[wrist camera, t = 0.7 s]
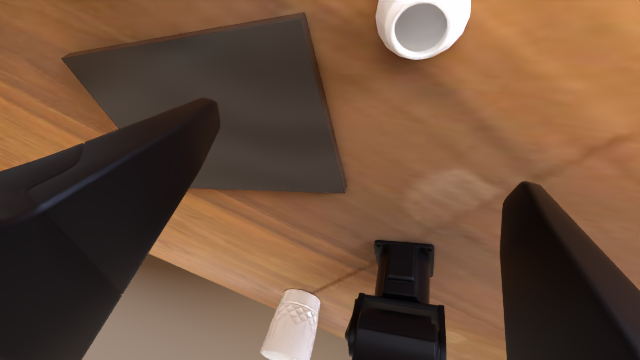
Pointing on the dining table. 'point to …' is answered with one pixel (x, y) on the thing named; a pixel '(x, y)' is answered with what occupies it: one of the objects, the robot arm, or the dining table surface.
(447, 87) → the dining table surface
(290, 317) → the white cup
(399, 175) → the dining table surface
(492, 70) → the dining table surface
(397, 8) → the lidless jar
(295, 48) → the serving board
